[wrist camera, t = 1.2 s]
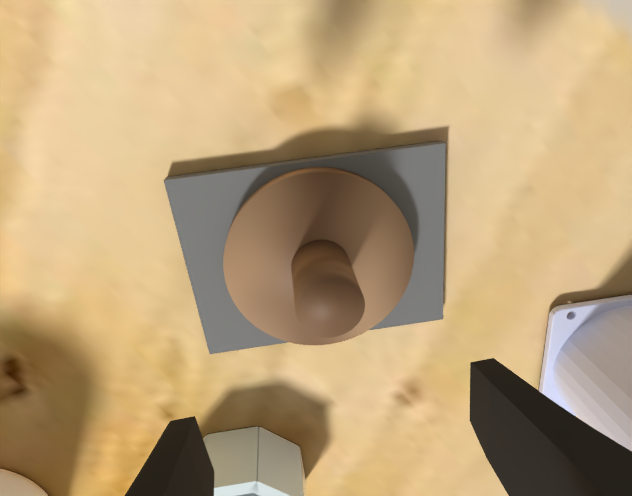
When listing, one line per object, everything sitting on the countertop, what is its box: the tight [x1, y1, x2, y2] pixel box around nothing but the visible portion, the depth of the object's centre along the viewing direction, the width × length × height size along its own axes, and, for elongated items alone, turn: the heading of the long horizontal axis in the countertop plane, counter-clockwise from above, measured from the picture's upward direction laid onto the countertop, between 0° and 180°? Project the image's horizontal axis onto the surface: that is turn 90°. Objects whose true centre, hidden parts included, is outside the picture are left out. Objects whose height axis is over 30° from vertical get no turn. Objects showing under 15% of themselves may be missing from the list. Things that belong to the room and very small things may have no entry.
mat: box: [164, 141, 446, 354], centre depth 20 cm, size 12×9×1 cm
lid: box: [223, 167, 414, 345], centre depth 18 cm, size 8×8×4 cm
